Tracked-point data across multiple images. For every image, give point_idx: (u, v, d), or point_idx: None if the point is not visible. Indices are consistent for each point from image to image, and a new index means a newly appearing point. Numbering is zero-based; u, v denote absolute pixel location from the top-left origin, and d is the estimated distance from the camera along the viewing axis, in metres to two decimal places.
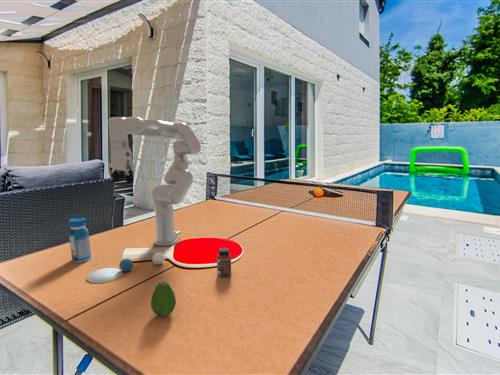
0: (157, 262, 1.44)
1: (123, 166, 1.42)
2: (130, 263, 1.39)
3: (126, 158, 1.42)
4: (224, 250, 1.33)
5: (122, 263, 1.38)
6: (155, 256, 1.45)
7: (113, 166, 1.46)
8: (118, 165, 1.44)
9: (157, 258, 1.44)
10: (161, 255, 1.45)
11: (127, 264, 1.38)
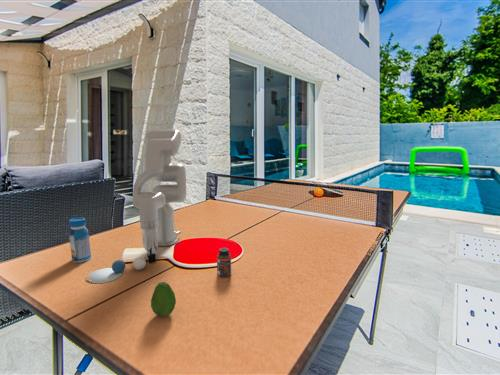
0: (143, 264, 1.41)
1: None
2: (118, 264, 1.37)
3: None
4: (224, 250, 1.33)
5: (113, 270, 1.37)
6: None
7: None
8: None
9: (142, 268, 1.41)
10: (137, 269, 1.40)
11: (116, 267, 1.36)
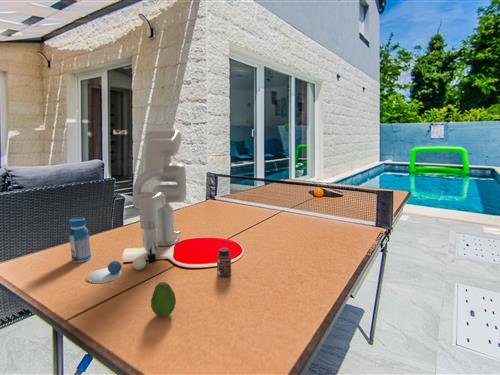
0: (143, 264, 1.41)
1: None
2: (111, 266, 1.36)
3: None
4: (224, 250, 1.33)
5: None
6: None
7: None
8: None
9: (142, 268, 1.41)
10: (137, 269, 1.40)
11: (111, 270, 1.35)
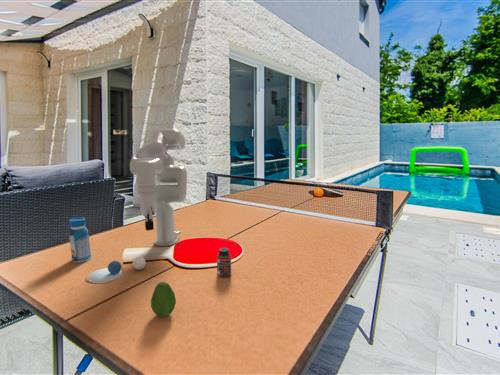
0: (143, 264, 1.41)
1: None
2: (111, 266, 1.36)
3: None
4: (224, 250, 1.33)
5: None
6: None
7: None
8: None
9: (142, 268, 1.41)
10: (137, 269, 1.40)
11: (111, 270, 1.35)
